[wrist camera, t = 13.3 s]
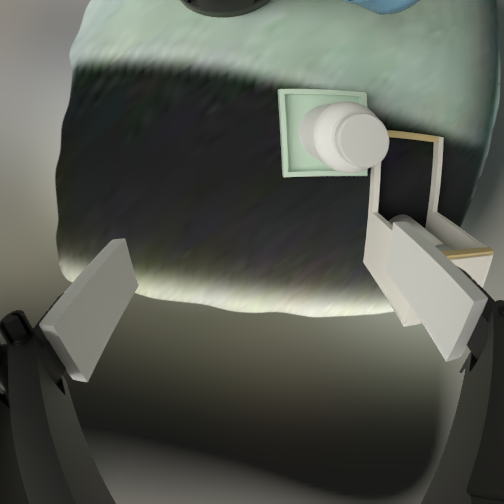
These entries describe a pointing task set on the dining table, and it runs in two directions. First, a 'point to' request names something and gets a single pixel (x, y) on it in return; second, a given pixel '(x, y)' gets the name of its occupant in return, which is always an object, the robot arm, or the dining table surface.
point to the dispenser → (436, 231)
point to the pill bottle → (344, 136)
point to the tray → (291, 114)
